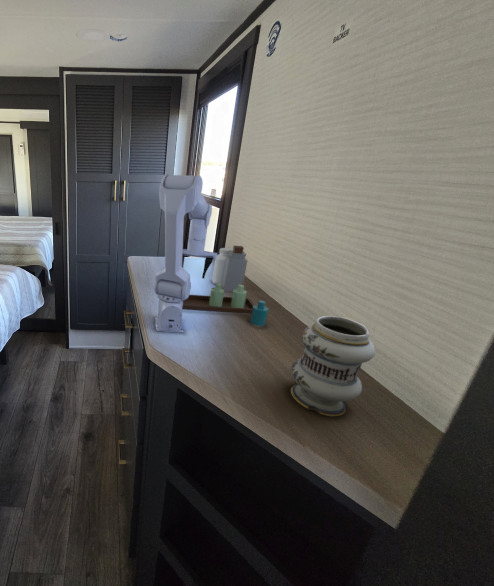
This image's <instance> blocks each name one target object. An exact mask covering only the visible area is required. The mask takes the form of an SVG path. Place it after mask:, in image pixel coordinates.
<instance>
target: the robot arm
mask: <svg viewBox="0 0 494 586" xmlns="http://www.w3.org/2000/svg"><path fill="white" fill-rule="evenodd" d="M203 186H204V185H203V178H202V177H201V175H200V174H196V175H182V174H181V175H180V174H164V176H163V177H162V179H161V181H160V185H159V208H160V209H161V210H162V211H163V212H164V235H165V236H164V267H162V268H160V269H159V270H158V271H157V272H156V275H155V278H154V279H155V281H154V285H153V291H154V293H155V295H156V296H157V299H158V306H157V307H158V308H157V316H155V317H154V319H155V329H156V330H155V331H156V332H163V333H164V332H165V333H179V334H183V333H184V332H185V331H184V328H182V320H183V319H182V318H183V309H182V307H183V300H186V299H187V298H188V296H189V295H191V290H192V281H191V274H190V273H189V272H188V271H187V270H186V269H185V268H184V265H185V257H193V258H202V259H204V264H203V271H202V275H201V278H202V279H205V276H206V274H207V271H208V269H209V268H210V267H211V265H212V263H213V261H215V260H216V258H217V255H218V252H215V251H214V252H213V251H208V250H205V248H206V241H207V233H208V226H209V224H210V220H211V218H212V213H213V206H212V205H211V204H210V203H207V201H206V198H205V196H204V195H203V193H202V191H203ZM186 214H188V219H189V220H190V224H189V232H188V239H187V248H184V223H185V215H186Z"/></svg>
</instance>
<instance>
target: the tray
mask: <svg viewBox="0 0 494 586" xmlns="http://www.w3.org/2000/svg"><path fill="white" fill-rule="evenodd" d="M209 300H210V295H200V294H189V296H188V298H187V299H186V300H183V307H182V310H185V311H199V312H202V311H203V312H216V313H230V314H231V313H234V314H235V313H236V314H248V315H249V314H250V315H251V314H252V309H253V306H254V305H255V304H254V303H253V302H252V300H251V299H250V298H249V297H246V300H245V305H244V308H232V307H231V306H230V305H231V300H232V296H223V302H222V307H216V306H209Z"/></svg>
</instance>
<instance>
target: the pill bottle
mask: <svg viewBox="0 0 494 586" xmlns="http://www.w3.org/2000/svg"><path fill="white" fill-rule="evenodd" d="M229 250H233V248H229V247H221V248H220V249H219V251H218V253H219V254H217V258H216V260H215V259H214V265H213V271H212V279H211V282H212V283H213V284H214V285H216V283H219V284H221V283H222V277H223V271H224V265H225V260H226V255H229Z"/></svg>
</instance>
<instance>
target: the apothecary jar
mask: <svg viewBox="0 0 494 586" xmlns="http://www.w3.org/2000/svg"><path fill="white" fill-rule="evenodd" d="M314 321H315V322H314V323H313V324H311V325H308V326H307V327H305V328H304V329H303V330H302V332H301V337H300V338H301V342H302V343H303V345H304V350H303V353H302V355H301V357H300V358H298V359H296V360H295V361H294V362H293V363H292V365H291V368H290V373H291V376H292V379H293V380H294V381H295V382H296V383H295V384H293V386H291V388H290V394H291V396H292V398H293V399H294V401H295V402H297V403H298V404H299V405H301V406H302V407H303V408H305V409H306V410H310V411H315V412H316V413H318V414H319V415H322V416H327V417H340V416H342V415H344V414H345V413H346V408H347V407H346V405H345V403H344V402H348V401H351V400H354V399H357V398H358V397H359V396H360V395H361V394H362V391H363V385H362V381H361V379H360V378H359V374H360V370H361V368H362V365H363V364H364V363H367V362H369V361H371V360H372V359H373V358H374V357H375V355H376V348H375V345H374V343H373V342H372V341H371V340H370V330H369V328H368V327H367V326H365V325H364V324H363V323H361V322H358V321H355V320H353V319H350V318H346V317H341V316H335V315H323V316H320V317H317V318H316V319H315V320H314Z"/></svg>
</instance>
